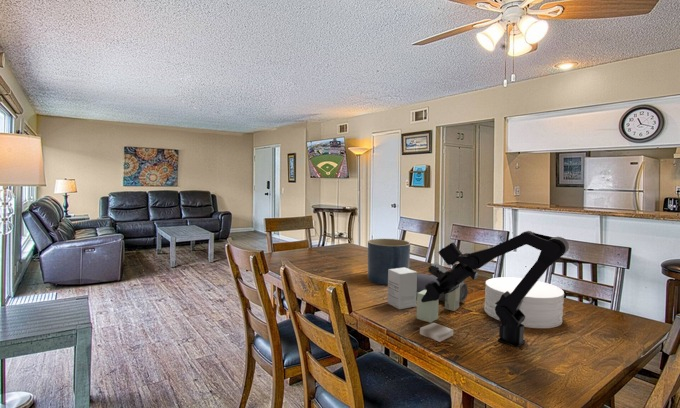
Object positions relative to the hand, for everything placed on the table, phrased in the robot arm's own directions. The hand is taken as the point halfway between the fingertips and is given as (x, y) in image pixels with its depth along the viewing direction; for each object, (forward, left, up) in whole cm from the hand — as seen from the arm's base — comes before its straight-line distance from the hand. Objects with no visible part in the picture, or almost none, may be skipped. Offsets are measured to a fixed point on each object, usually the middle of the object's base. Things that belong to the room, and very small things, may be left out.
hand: (427, 298), depth 142 cm
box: (0, -17, -8) cm, 19 cm away
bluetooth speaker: (+11, -24, -8) cm, 28 cm away
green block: (0, 0, -8) cm, 8 cm away
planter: (+46, -29, -8) cm, 55 cm away
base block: (-11, +10, -8) cm, 17 cm away
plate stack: (-21, -34, -8) cm, 41 cm away
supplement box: (+16, -4, -8) cm, 18 cm away
